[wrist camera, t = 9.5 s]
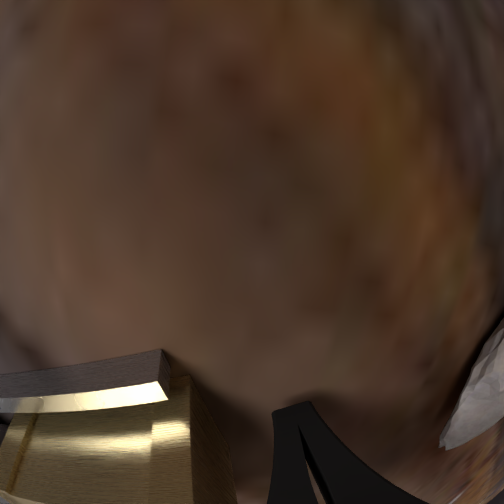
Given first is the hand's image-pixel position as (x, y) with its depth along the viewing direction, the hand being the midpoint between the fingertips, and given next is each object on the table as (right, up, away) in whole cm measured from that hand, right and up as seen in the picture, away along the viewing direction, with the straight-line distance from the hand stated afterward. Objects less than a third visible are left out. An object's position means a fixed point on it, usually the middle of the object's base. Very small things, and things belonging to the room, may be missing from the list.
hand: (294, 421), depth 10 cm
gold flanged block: (-7, -1, +1) cm, 7 cm away
